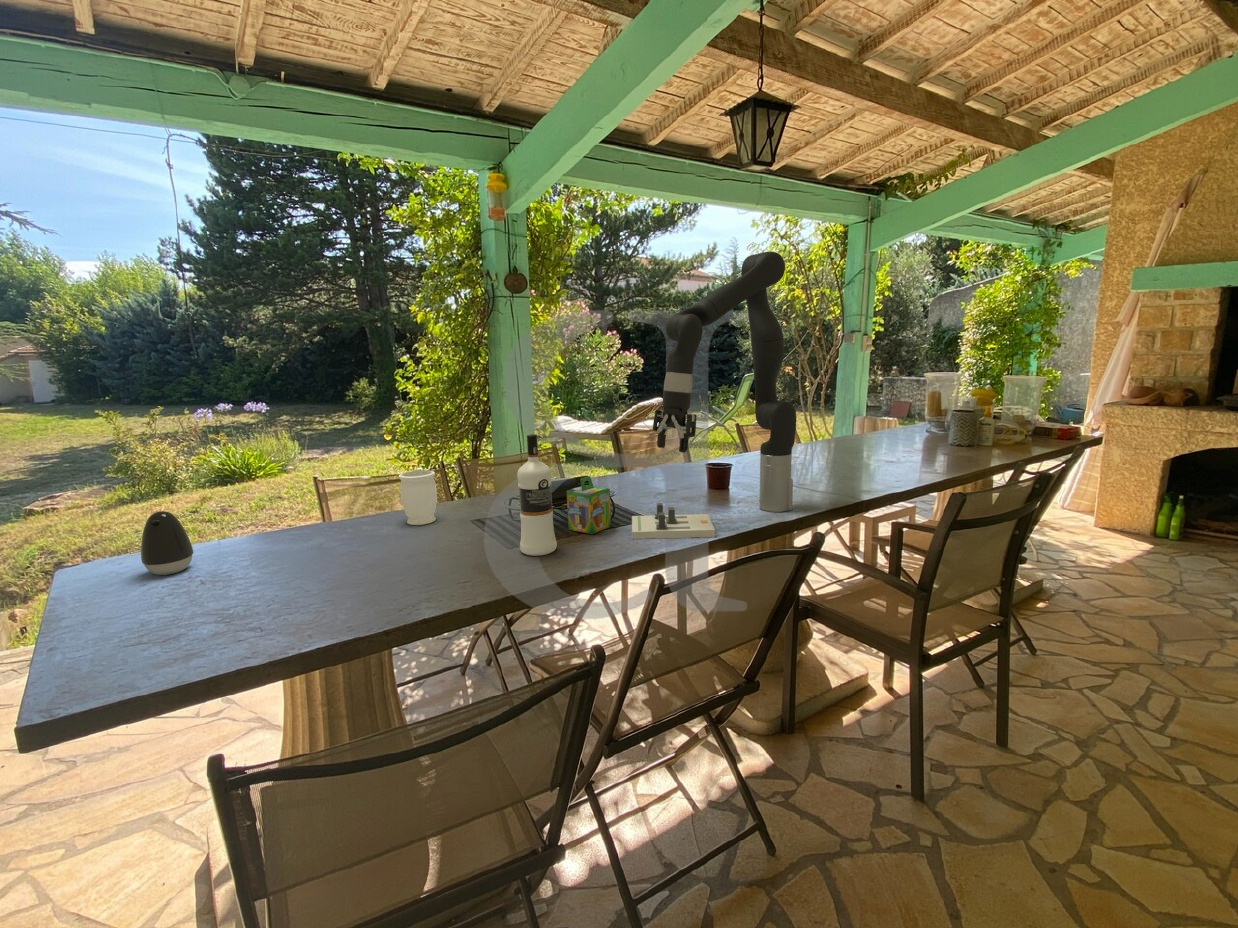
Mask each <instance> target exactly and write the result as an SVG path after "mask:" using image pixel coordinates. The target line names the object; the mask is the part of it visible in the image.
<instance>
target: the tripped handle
mask: <svg viewBox="0 0 1238 928" xmlns="http://www.w3.org/2000/svg"><path fill="white" fill-rule="evenodd" d="M667 510H668V511H667V513H668V514H667V515H668V519H666V521H667V523H677V520H676V519H675V515H676V514H675V512H676V511H675V507H674V506H671V507H668V508H667Z"/></svg>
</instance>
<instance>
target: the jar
mask: <svg viewBox="0 0 1238 928" xmlns="http://www.w3.org/2000/svg"><path fill="white" fill-rule="evenodd" d="M435 476H436V472H435V471H434V470H428V469H427V470H423V469H422V470H411V471H407V472H402V473H400V474H399V475H398V478H399V479H398V480H400V487H399V488H400V489H399V490H400V491H399V492H400V499H401V503H402V506H403V510H404V513H405V515H406V517H407V521H406V523H407V524H408V525H411V526H422V525H427V524H431V523H433V522H435V521H436V519H437V518H436V516H435V515H434V514H435V513H436V509H437V497H438V493H437V491H438V490H437V485H436V484H437V483H436V481H435V479H434V477H435Z"/></svg>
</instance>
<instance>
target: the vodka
mask: <svg viewBox="0 0 1238 928" xmlns="http://www.w3.org/2000/svg"><path fill="white" fill-rule="evenodd" d="M526 442H527V443H526V446H527V462H525V463H524V464H523V465H521V466H520V467H519V468H518V470H517V474H516V476H517V481H518V483H517V486H518V492H519V509H520V513H519V517H520V530H521V531H520V542H519V549H520V551H521V552H522V553H523V554H524V555H527V556H529V557H530V556H531V557H540V556H545V555H549V554H551V553H554V551H555V550H556V549H557V547H558V546H557V545H558V544H557V543H558V542H557V538H556V535H555V528H554V516H553V515H554V511H553V499H552V498H553V497H552V472H551V469H550V467H549V465H546V464H545V463H543V462H542V461H540V459H539V447H538V446H539V445H538V444H539V443H538V435H537V434H532V433H530V434H527V435H526Z"/></svg>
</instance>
